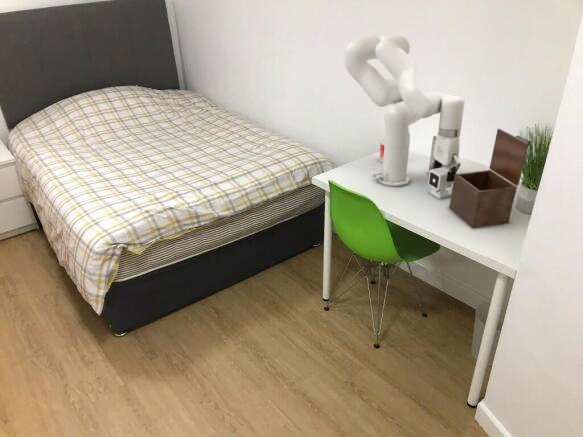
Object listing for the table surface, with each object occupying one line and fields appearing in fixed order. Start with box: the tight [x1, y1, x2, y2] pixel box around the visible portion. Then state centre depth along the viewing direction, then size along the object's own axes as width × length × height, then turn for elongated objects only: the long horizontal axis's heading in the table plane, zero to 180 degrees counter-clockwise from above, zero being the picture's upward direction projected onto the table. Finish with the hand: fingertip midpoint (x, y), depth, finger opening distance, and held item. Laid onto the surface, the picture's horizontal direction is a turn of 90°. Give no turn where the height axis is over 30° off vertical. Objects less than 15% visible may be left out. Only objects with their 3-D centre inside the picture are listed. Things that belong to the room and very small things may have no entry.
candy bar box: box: [428, 135, 454, 174], centre depth 186 cm, size 11×5×16 cm, turn 14°
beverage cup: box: [379, 138, 385, 163], centre depth 204 cm, size 6×6×14 cm
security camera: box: [427, 167, 454, 200], centre depth 175 cm, size 6×7×10 cm
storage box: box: [448, 169, 518, 229], centre depth 159 cm, size 14×15×13 cm
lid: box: [488, 128, 531, 187], centre depth 154 cm, size 15×15×6 cm
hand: (443, 176), depth 173 cm, fingers open, 9 cm apart
